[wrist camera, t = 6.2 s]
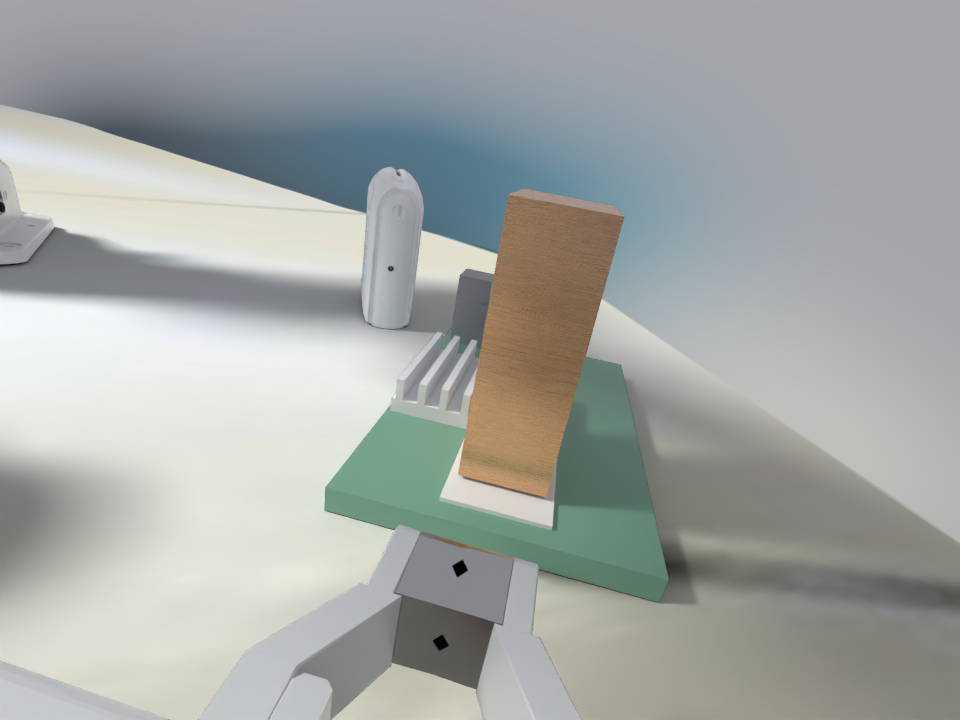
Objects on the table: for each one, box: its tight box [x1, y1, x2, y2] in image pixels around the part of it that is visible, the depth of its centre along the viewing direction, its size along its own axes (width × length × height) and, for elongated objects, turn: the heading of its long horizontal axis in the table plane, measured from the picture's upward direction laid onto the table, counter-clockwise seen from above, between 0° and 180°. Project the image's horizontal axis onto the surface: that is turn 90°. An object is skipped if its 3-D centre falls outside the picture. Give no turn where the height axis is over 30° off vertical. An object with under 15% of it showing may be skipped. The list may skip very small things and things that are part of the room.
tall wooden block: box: [458, 189, 624, 497], centre depth 23 cm, size 10×4×12 cm, turn 169°
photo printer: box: [361, 167, 423, 329], centre depth 42 cm, size 10×4×12 cm, turn 14°
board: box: [324, 269, 669, 602], centre depth 28 cm, size 22×14×6 cm, turn 169°
